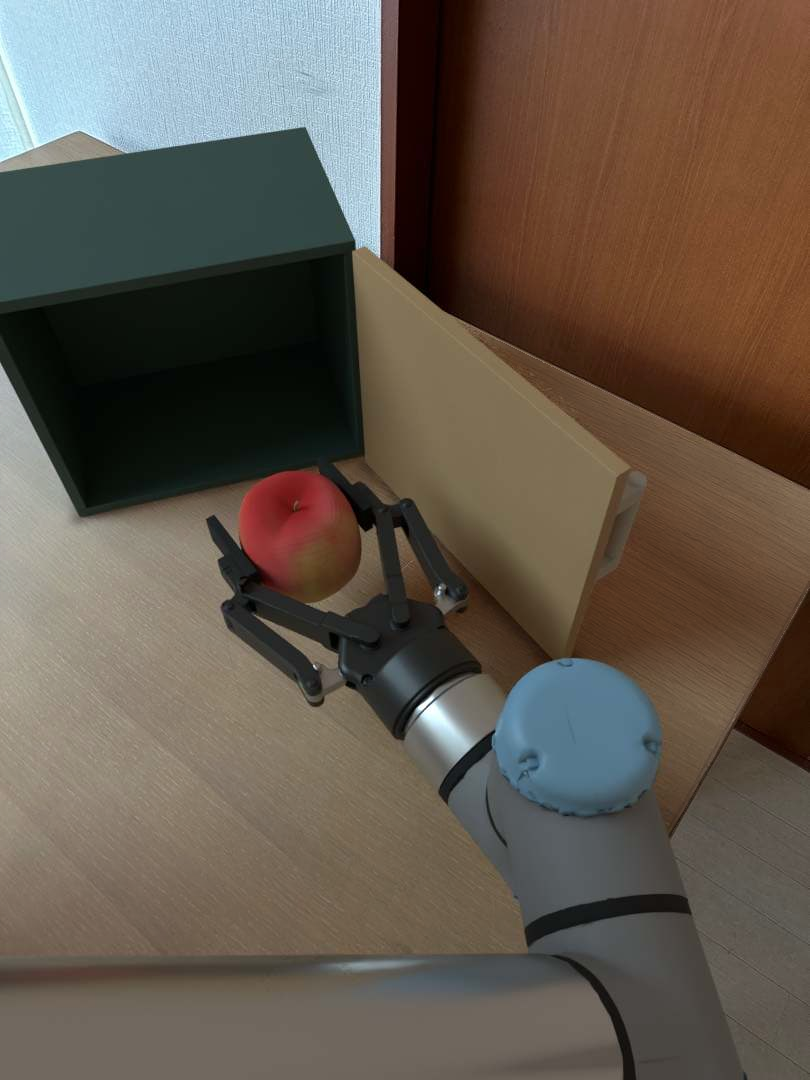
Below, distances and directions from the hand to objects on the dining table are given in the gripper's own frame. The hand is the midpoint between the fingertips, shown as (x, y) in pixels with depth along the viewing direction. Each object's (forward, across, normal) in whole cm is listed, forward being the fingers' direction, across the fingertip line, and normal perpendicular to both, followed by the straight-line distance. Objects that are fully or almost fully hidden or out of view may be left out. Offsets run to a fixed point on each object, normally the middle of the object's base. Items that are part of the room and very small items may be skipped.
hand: (269, 497), depth 66 cm
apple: (-4, 0, -6) cm, 8 cm away
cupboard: (+20, +4, -10) cm, 23 cm away
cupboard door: (-8, +17, -10) cm, 21 cm away
